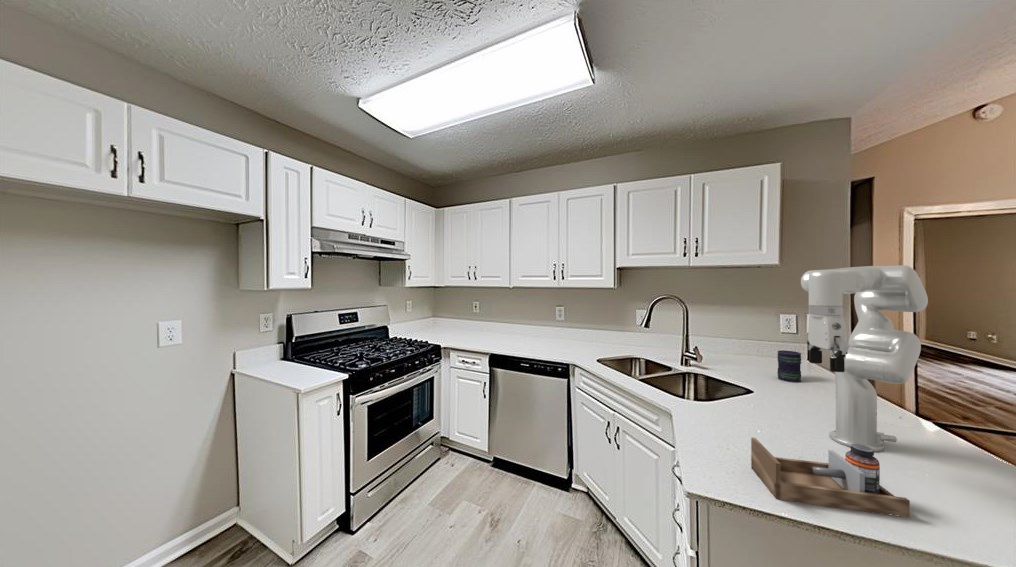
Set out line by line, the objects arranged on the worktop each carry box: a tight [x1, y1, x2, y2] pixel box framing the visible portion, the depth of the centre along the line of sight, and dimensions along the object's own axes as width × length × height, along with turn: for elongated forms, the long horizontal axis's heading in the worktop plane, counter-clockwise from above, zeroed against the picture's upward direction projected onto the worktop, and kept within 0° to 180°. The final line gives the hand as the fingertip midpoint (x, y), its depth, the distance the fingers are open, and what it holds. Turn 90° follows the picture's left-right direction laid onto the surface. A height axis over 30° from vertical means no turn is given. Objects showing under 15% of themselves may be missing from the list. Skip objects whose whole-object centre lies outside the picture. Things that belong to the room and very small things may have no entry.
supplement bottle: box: [844, 444, 881, 494], centre depth 84 cm, size 6×6×11 cm
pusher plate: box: [812, 449, 865, 492], centre depth 85 cm, size 7×11×7 cm, turn 164°
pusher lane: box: [750, 437, 911, 518], centre depth 86 cm, size 26×14×9 cm, turn 74°
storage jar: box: [776, 349, 802, 384], centre depth 178 cm, size 10×10×15 cm
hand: (825, 367), depth 101 cm, fingers open, 9 cm apart
